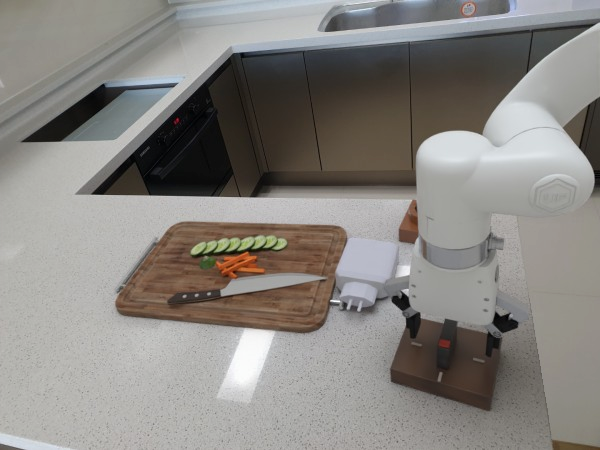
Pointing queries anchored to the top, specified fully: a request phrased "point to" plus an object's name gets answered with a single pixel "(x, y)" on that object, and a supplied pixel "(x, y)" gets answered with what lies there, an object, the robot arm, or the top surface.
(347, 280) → the charger
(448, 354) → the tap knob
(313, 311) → the chopping board
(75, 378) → the top surface
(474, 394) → the brown flat block
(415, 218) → the brown base with collar
